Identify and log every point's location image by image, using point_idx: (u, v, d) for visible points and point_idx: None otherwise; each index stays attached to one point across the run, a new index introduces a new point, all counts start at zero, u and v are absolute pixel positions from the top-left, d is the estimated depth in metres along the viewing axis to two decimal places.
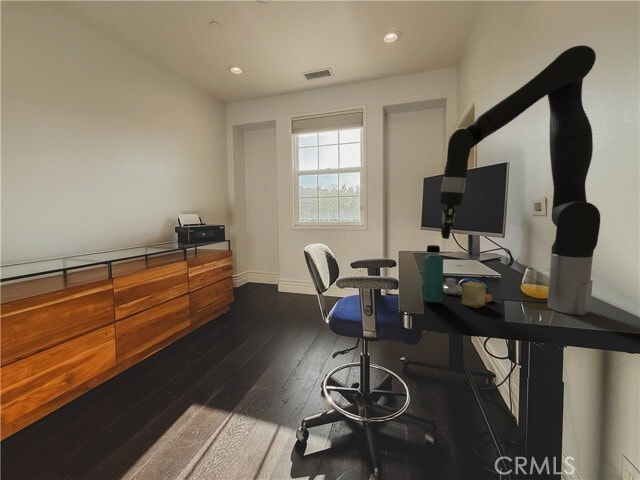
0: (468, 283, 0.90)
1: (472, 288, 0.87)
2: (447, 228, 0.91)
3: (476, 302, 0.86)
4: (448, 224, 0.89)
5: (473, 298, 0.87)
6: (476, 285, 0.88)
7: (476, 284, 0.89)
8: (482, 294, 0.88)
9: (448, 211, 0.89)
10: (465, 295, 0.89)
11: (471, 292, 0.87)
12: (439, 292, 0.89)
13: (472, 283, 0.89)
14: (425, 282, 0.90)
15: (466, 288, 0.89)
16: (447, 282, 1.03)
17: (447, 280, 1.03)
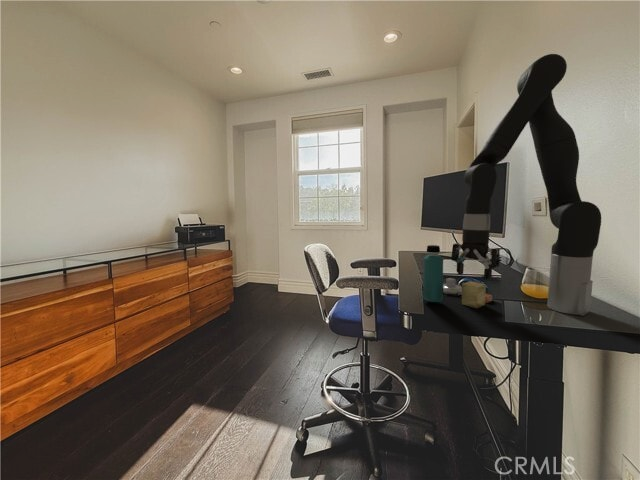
0: (468, 283, 0.90)
1: (472, 288, 0.87)
2: (491, 269, 0.84)
3: (476, 302, 0.86)
4: (497, 265, 0.82)
5: (473, 298, 0.87)
6: (476, 285, 0.88)
7: (476, 284, 0.89)
8: (482, 294, 0.88)
9: (496, 252, 0.82)
10: (465, 295, 0.89)
11: (471, 292, 0.87)
12: (439, 292, 0.89)
13: (472, 283, 0.89)
14: (425, 282, 0.90)
15: (466, 288, 0.89)
16: (447, 282, 1.03)
17: (447, 280, 1.03)
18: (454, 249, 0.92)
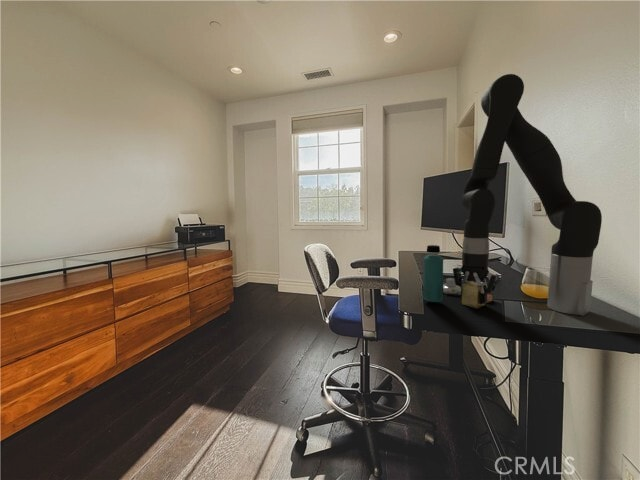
0: (468, 283, 0.90)
1: (472, 288, 0.87)
2: (486, 293, 0.86)
3: (476, 302, 0.86)
4: (492, 290, 0.84)
5: (473, 298, 0.87)
6: (476, 285, 0.88)
7: (476, 284, 0.89)
8: None
9: (495, 279, 0.83)
10: (465, 295, 0.89)
11: (471, 292, 0.87)
12: (439, 292, 0.89)
13: (472, 283, 0.89)
14: (425, 282, 0.90)
15: (466, 288, 0.89)
16: (447, 282, 1.03)
17: (447, 280, 1.03)
18: (455, 273, 0.93)
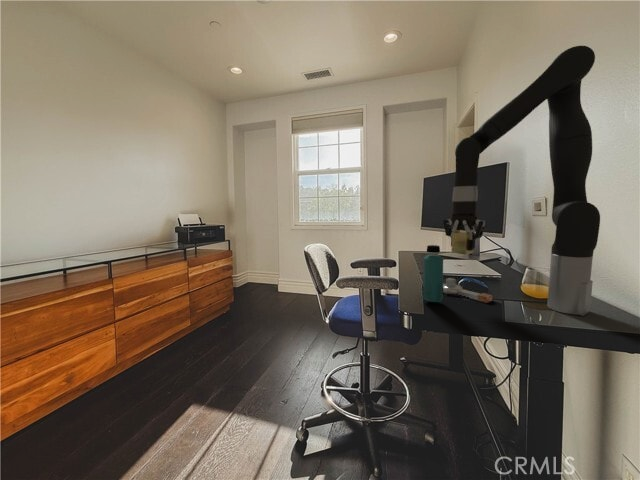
0: (458, 232, 0.94)
1: (461, 235, 0.91)
2: (474, 240, 0.90)
3: (465, 248, 0.90)
4: (479, 236, 0.89)
5: (462, 245, 0.91)
6: (465, 233, 0.92)
7: (465, 232, 0.93)
8: None
9: (483, 224, 0.87)
10: (455, 243, 0.93)
11: (460, 239, 0.92)
12: (439, 292, 0.89)
13: (461, 232, 0.94)
14: (425, 282, 0.90)
15: (456, 236, 0.93)
16: (447, 282, 1.03)
17: (447, 280, 1.03)
18: (445, 224, 0.97)
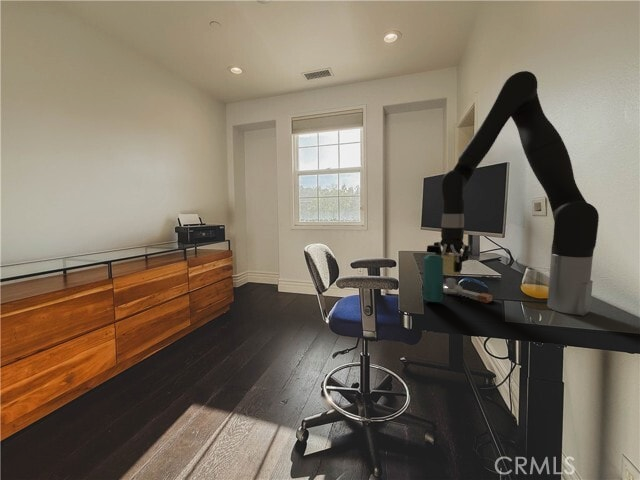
0: (446, 254, 1.03)
1: (449, 258, 1.00)
2: (461, 262, 0.99)
3: (452, 270, 0.99)
4: (465, 259, 0.97)
5: (450, 267, 1.00)
6: (453, 256, 1.00)
7: (453, 255, 1.01)
8: None
9: (468, 249, 0.95)
10: (443, 265, 1.02)
11: (448, 262, 1.00)
12: (439, 292, 0.89)
13: (449, 255, 1.02)
14: (425, 282, 0.90)
15: (444, 259, 1.01)
16: (447, 282, 1.03)
17: (447, 280, 1.03)
18: None
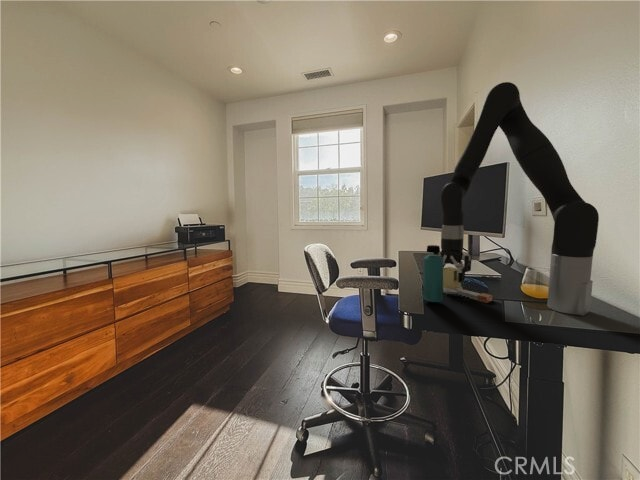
0: (446, 268, 1.03)
1: (449, 272, 1.00)
2: (464, 273, 0.98)
3: (453, 284, 1.00)
4: (468, 269, 0.97)
5: (450, 280, 1.00)
6: (453, 269, 1.01)
7: (453, 269, 1.02)
8: None
9: (468, 258, 0.96)
10: (444, 278, 1.02)
11: (448, 275, 1.01)
12: (439, 292, 0.89)
13: (449, 268, 1.03)
14: (425, 282, 0.90)
15: (444, 272, 1.02)
16: None
17: None
18: None
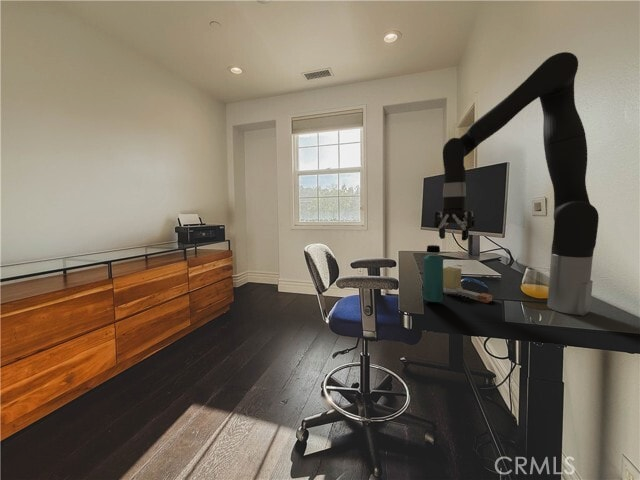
0: (446, 268, 1.03)
1: (449, 272, 1.00)
2: (467, 230, 0.96)
3: (453, 284, 1.00)
4: (472, 226, 0.94)
5: (450, 280, 1.00)
6: (453, 269, 1.01)
7: (453, 269, 1.02)
8: (458, 277, 1.01)
9: (471, 214, 0.94)
10: (444, 278, 1.02)
11: (448, 275, 1.01)
12: (439, 292, 0.89)
13: (449, 268, 1.03)
14: (425, 282, 0.90)
15: (444, 272, 1.02)
16: None
17: None
18: (436, 216, 1.04)
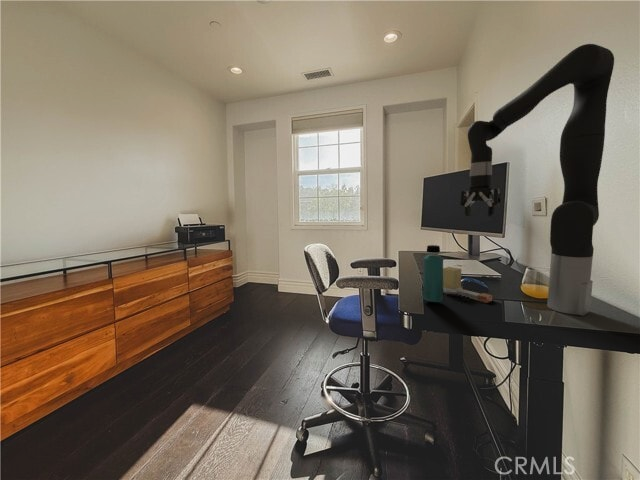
0: (446, 268, 1.03)
1: (449, 272, 1.00)
2: (493, 206, 1.03)
3: (453, 284, 1.00)
4: (498, 202, 1.01)
5: (450, 280, 1.00)
6: (453, 269, 1.01)
7: (453, 269, 1.02)
8: (458, 277, 1.01)
9: (498, 191, 1.01)
10: (444, 278, 1.02)
11: (448, 275, 1.01)
12: (439, 292, 0.89)
13: (449, 268, 1.03)
14: (425, 282, 0.90)
15: (444, 272, 1.02)
16: None
17: None
18: (462, 195, 1.11)
